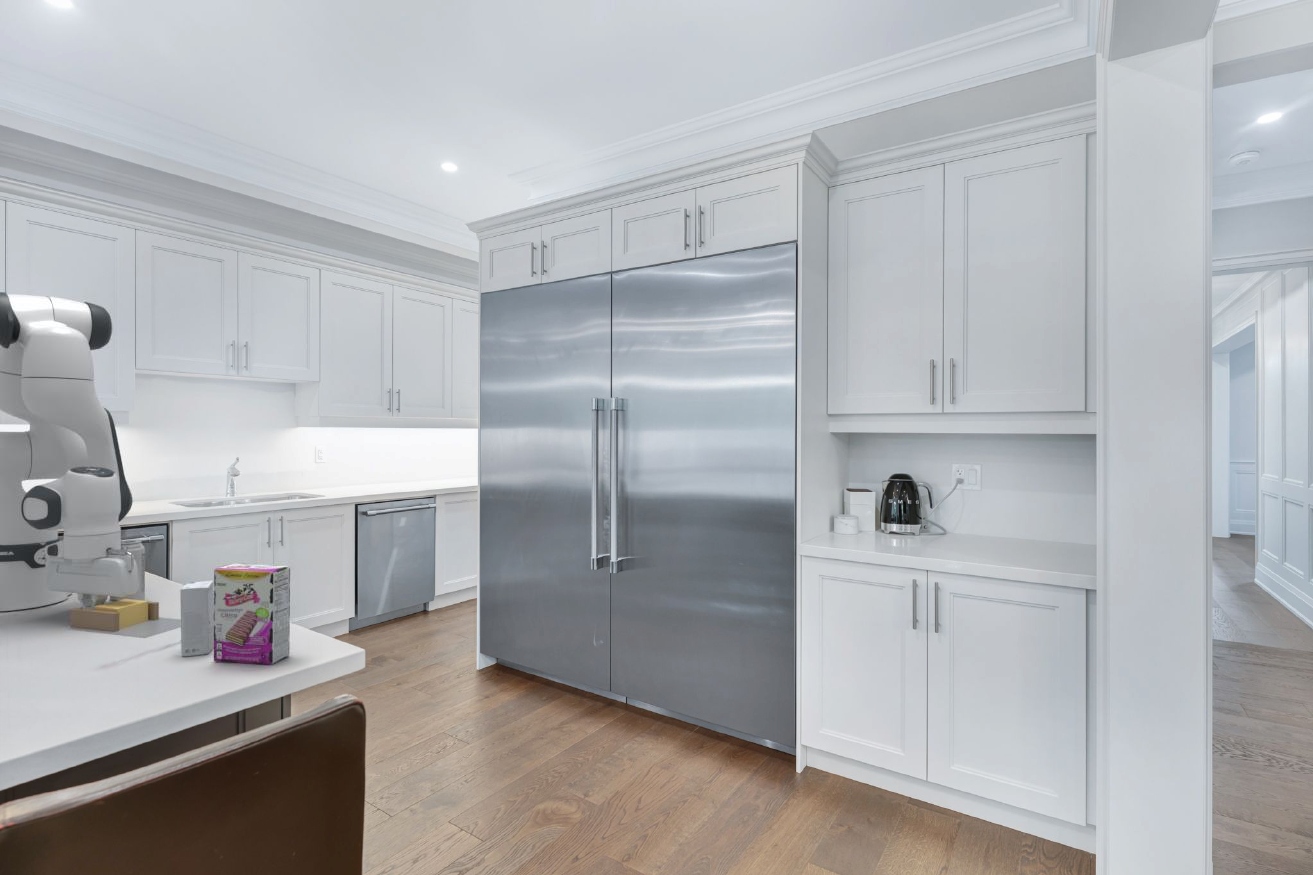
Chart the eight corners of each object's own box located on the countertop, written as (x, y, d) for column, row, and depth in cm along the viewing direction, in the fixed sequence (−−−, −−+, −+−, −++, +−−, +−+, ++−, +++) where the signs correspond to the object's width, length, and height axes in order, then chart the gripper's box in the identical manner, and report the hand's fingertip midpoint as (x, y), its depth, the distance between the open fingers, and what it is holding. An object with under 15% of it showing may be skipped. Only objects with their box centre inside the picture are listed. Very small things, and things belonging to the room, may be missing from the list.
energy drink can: (107, 609, 144) (107, 541, 144) (141, 604, 149) (141, 538, 148) (112, 614, 140) (113, 545, 140) (147, 608, 145) (147, 541, 144)
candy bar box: (211, 662, 113) (211, 568, 112) (233, 653, 118) (233, 562, 117) (272, 666, 111) (272, 570, 111) (291, 656, 116) (291, 564, 116)
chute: (64, 633, 127) (64, 610, 127) (122, 618, 138) (122, 596, 137) (144, 643, 122) (144, 619, 122) (198, 626, 133) (198, 604, 133)
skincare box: (209, 654, 117) (210, 586, 117) (179, 657, 115) (179, 589, 115) (215, 643, 122) (216, 579, 122) (186, 647, 120) (187, 581, 120)
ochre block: (93, 626, 128) (94, 606, 128) (125, 618, 134) (125, 598, 134) (117, 629, 127) (117, 608, 127) (148, 620, 133) (148, 601, 133)
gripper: (148, 547, 133) (148, 614, 133) (72, 542, 138) (72, 607, 138) (116, 552, 127) (116, 623, 127) (37, 547, 131) (37, 615, 132)
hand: (92, 614), depth 132 cm, fingers closed
